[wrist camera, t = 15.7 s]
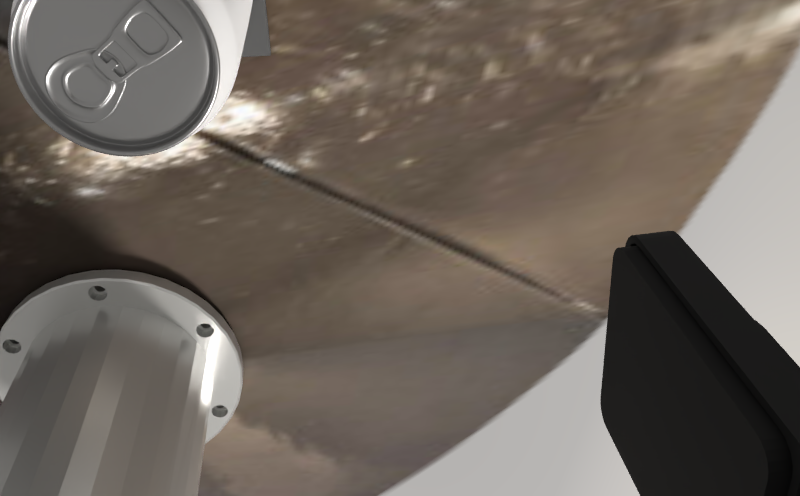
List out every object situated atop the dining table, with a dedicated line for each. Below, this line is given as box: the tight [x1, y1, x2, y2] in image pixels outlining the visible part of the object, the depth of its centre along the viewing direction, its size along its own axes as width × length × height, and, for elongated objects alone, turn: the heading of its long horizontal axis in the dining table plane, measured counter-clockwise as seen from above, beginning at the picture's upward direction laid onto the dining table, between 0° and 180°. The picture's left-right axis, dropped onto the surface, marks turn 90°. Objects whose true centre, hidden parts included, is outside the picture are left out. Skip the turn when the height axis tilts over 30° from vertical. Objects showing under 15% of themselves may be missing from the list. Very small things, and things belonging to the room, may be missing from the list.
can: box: [8, 0, 253, 156], centre depth 26 cm, size 6×6×12 cm
